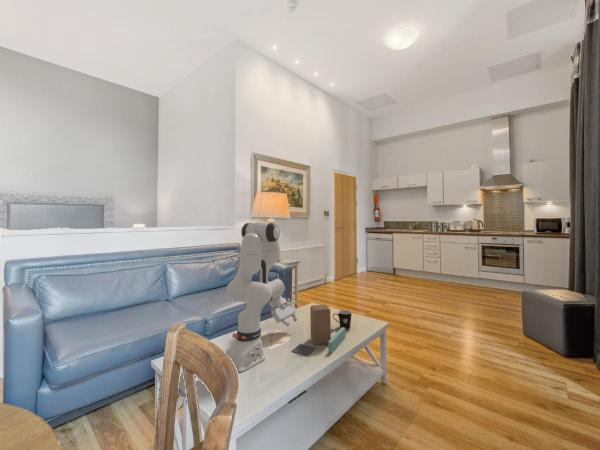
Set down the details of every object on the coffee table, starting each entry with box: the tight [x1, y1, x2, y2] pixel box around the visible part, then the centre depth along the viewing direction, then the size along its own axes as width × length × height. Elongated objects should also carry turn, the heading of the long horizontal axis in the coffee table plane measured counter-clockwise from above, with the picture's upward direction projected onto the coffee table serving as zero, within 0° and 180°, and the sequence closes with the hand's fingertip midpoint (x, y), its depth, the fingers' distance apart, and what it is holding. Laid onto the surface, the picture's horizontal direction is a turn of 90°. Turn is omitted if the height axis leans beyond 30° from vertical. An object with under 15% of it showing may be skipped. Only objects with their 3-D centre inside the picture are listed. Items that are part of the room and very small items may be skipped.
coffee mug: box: [332, 309, 353, 330], centre depth 182 cm, size 12×9×10 cm
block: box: [309, 304, 332, 346], centre depth 160 cm, size 10×10×20 cm
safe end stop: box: [327, 327, 346, 355], centre depth 155 cm, size 22×2×6 cm, turn 152°
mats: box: [290, 328, 335, 357], centre depth 162 cm, size 38×10×1 cm, turn 152°
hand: (292, 323), depth 168 cm, fingers open, 8 cm apart
